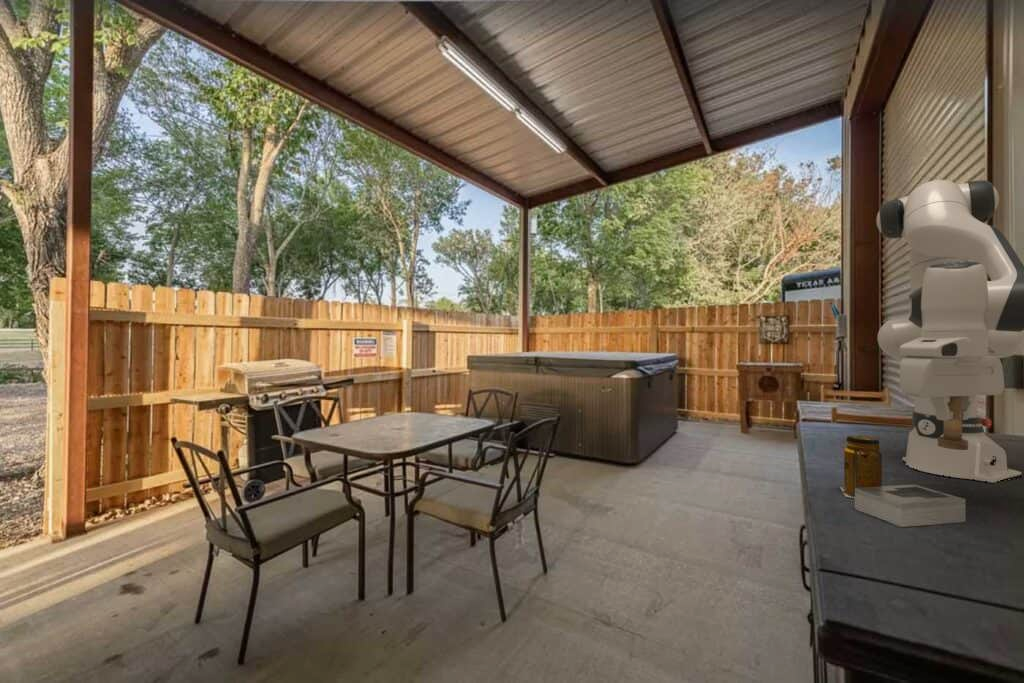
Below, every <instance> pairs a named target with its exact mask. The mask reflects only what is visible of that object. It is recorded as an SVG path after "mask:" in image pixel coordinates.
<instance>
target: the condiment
mask: <svg viewBox="0 0 1024 683" xmlns="http://www.w3.org/2000/svg"><path fill="white" fill-rule="evenodd" d="M845 439H846V447H845V448H844V452H843V454H844V455H843V457H844V461H843V462H844V464H843V465H844V466H843V468H844V470H843V473H844V476H843V479H844V487H842V486H839V488H840V490H841V493H843V491H844V490H845V493H846V494H845V493H843V495H844V497H846V498H851V499H855V497H854V498H853V497H851V496H855V488H863V487H880V486H883V456H882V455H883V454H882V453H881V451H880V449H881V448H880V443H881V442H880V440H879V439H878V438H875V437H869V436H864V435H848V436H847V437H846V438H845ZM843 488H845V489H843ZM848 495H851V496H848Z"/></svg>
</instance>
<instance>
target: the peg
mask: <svg viewBox="0 0 1024 683" xmlns="http://www.w3.org/2000/svg"><path fill="white" fill-rule="evenodd" d="M947 404H948V407H949V410H950V411H953V420H948V421H944V437H938V446H940V447H943V448H948V449H956V450H968V441H967V440H964V439H962V396H954V397H950V402H948V403H947Z"/></svg>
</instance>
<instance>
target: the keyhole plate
mask: <svg viewBox="0 0 1024 683" xmlns="http://www.w3.org/2000/svg"><path fill="white" fill-rule="evenodd" d="M854 510H856V511H859V512H860V513H863V514H866V515H869V516H871V517H875V518H876V517H877V518H876V519H878V520H881V519H882V521H884V520H885V521H884V522H886V521H887V523H889V524H892V525H894V526H897V527H900V528H907V527H908V528H909V527H919V526H932V525H945V524H954V523H955V524H957V523H958V524H959V523H966V498H963V497H959V496H956V495H952V494H949V493H945V492H942V491H939V490H935V489H932V488H930V487H929V488H928V487H925V486H921V485H917V484H915V483H914V484H900V485H882V486H880V487H863V488H855V498H854Z"/></svg>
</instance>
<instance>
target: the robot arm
mask: <svg viewBox="0 0 1024 683" xmlns="http://www.w3.org/2000/svg"><path fill="white" fill-rule="evenodd" d="M999 202H1000V195H999V192H998V190H997V189H996V187H995V186H994V185H993V182H990V181H989V180H985V179H984V180H982V179H981V180H979V179H978V180H972V181H971V180H969V181H968V182H965V183H964V182H963V183H956V182H953V181H951V180H947V179H936V180H935V179H934V180H931V181H927V182H925V183H922V184H920V185H919V186H917V187H915V188H914V190H912V191H911V192H910V194H909V195H908V196H907V195H906V196H904V197H901V198H898V197H897V198H894V199H891V200H889V201H886V202H885V203H883V204H882V205H881V206H880V207H879V211H878V212H877V214H876V227H877V229H878V230H879V232H880V233H881V234H882V236H884V237H885V238H887V239H902V238H903V237H905V240H906V242H907V244H908V246H909V248H910V249H909V259H908V261H909V262H908V272H909V283H910V294H909V295H908V297H909V298H908V299H909V304H910V307H909V308H910V309H909V316H906V317H898V318H895V319H890V320H889V319H888V320H887V321H886V322H884V323H883V325H882V326H880V328H879V329H878V330H879V331H878V332H877V343H878V347H879V348H880V349H881V351H883V353H885V354H886V355H887V356H889V357H891V358H892V359H894V360H896V361H897V362H898V363H899V364H900V365H899V389H900V391H901V392H902V395H904V396H905V397H911V398H914V411H913V412H912V414H911V415H912V416H911V422H912V423H911V425H912V426H914V427H913V429H912V430H911V431H909V433H908V438H907V448H906V456H902V459H901V460H904V461H905V462H906V463H905V462H904V463H905V466H907V465H908V466H909V467H908V466H907V467H908V468H911V469H913V468H914V469H913V470H916V469H917V471H920V472H924V473H927V474H928V473H929V474H933V475H938V476H943V475H944V476H945V477H949V476H950V477H951V478H958V479H965V480H966V479H967V480H973V479H974V480H975V481H981V482H985V481H987V482H986V483H998V482H997V481H999V482H1001V481H1000V480H1003V479H1006V478H1009V477H1013V476H1017V475H1020V474H1022V472H1021V471H1019V470H1016V469H1012V468H1008V466H1007V465H1008V462H1007V461H1008V460H1007V452H1006V451H1005V450H1004V448H1002V447H1001V446H1000V445H999V444H997V443H996V442H995V441H994V440H992V439H991V438H990V437H988V436H987V435H986V434H985V433H984V432H985V430H984V427H986V428H990V427H991V426H992V424H993V422H992V420H991V418H982V417H979V416H978V413H979V412H978V411H979V408H978V407H979V406H978V402H979V401H978V399H979V398H978V397H979V396H1000V395H1002V393H1003V391H1004V390H1005V378H1004V370H1003V364H1002V362H1001V359H1003V358H1009V357H1012V356H1013V355H1014V354H1015V353H1017V352H1018V351H1019V350H1020V349H1021V347H1022V344H1023V342H1024V264H1023V262H1022V261H1021V259H1020V258H1019V256H1018V254H1017V253H1016V251H1015V249H1014V248H1013V246H1012V244H1011V243H1010V242H1009V241H1008V239H1007V237H1006V236H1005V235H1004V233H1003V232H1002V231H1001V230H1000V228H998V227H997V226H994V225H991V224H986V223H987V222H988V221H989V220H991V219H992V217H993V216H994V215H995V212H996V209H997V208H998V206H999V204H1000V203H999ZM986 274H987V275H988V277H989V279H990V280H987V276H986ZM954 396H962V439H964V440H967V441H968V450H956V449H948V448H943V447H940V446H938V437H944V421H948V420H953V411H950V410H949V407H948V404H947V403H948V402H950V397H954ZM1007 469H1008V470H1007ZM1022 475H1023V474H1022Z"/></svg>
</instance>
